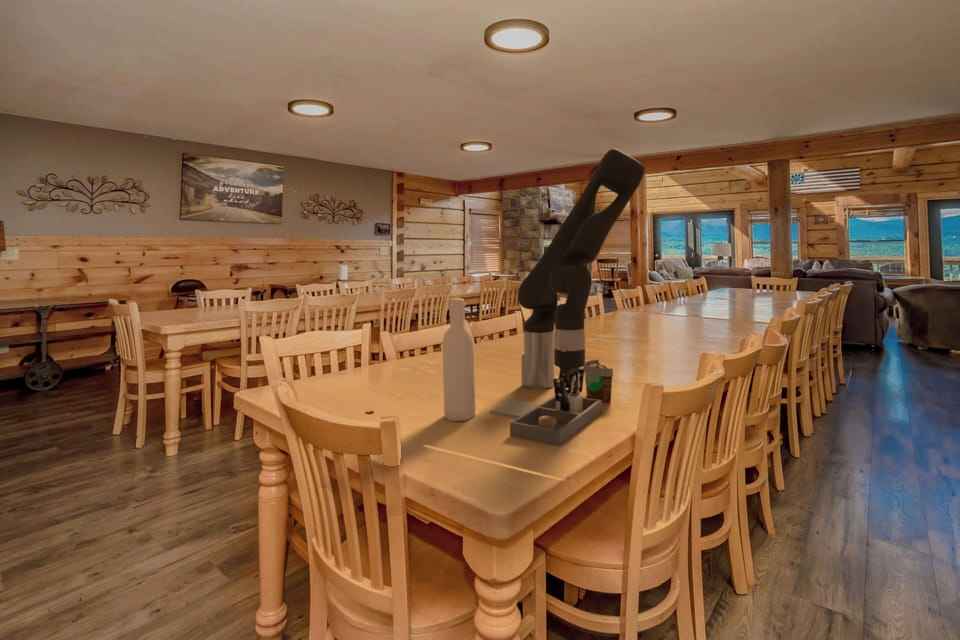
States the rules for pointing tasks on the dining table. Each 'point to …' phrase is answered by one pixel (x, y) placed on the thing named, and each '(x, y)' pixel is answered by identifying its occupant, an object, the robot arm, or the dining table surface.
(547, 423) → the tan oval stone
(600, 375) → the food container
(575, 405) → the letter cube
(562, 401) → the robot arm
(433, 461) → the dining table surface
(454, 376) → the bottle
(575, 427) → the organiser tray
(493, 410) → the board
